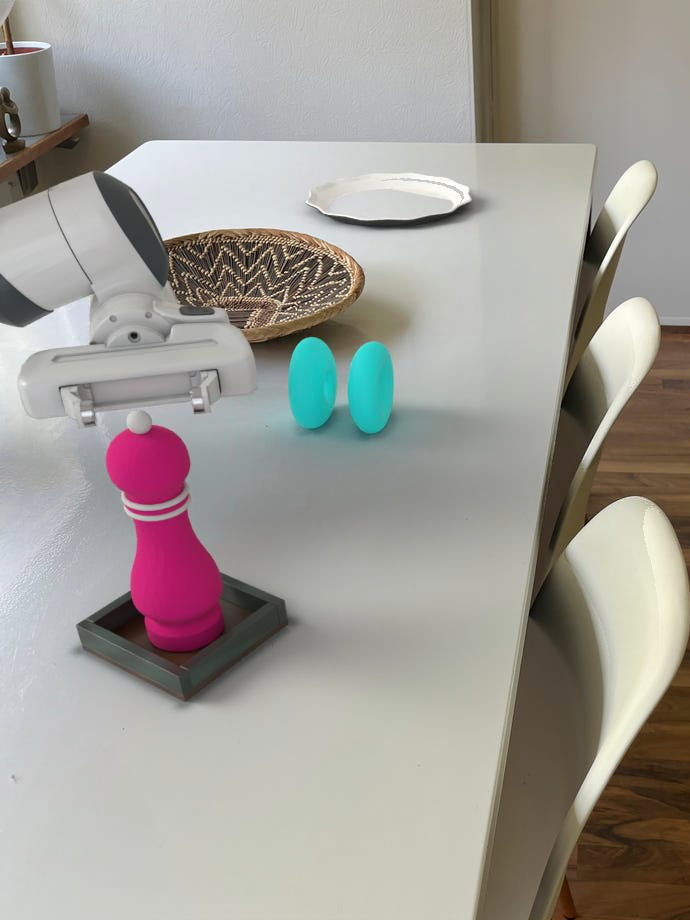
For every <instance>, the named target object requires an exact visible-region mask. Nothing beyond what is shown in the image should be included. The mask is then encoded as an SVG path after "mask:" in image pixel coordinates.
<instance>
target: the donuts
mask: <svg viewBox="0 0 690 920" xmlns="http://www.w3.org/2000/svg"><path fill="white" fill-rule="evenodd" d="M393 364H394V363H393V360H392V356H391V353H390V352H389V350H388V348H387V347H386V346H385V345H384V344H383V343H381V342H379V341H375V340H372V341H368V342H365V343H364V344H362V345H361V346H360V347H359V348H358V349H357V351H356V352H355V354H354V356H353V358H352V360H351V364H350V367H349V370H348V371H349V372H348V378H347V403H348V409H349V412H350V416H351V418H352V421H353V422H354V424H355V425H356V427H357V428H358V429H359V430H360V431H362V432H363V433H366V434H369V435H370V434H371V435H372V434H377V433H379V432H381V431H382V430H383V429H384V428H385V427H386V425H387V423H388V421H389V418H390V415H391V413H392V407H393V401H394V392H395V391H394V389H395V377H394V365H393ZM337 391H338V370H337V364H336V360H335V357H334V355H333V352H332V350H331V348H330V347H329V346H328V344H327V343H326V342H325V341H324V340H322V339H320V338H318V337H315V336H314V337H313V336H309V337H305V338H303V339H302V340H300V342H299V343H298V344H297V345H296V346H295V348H294V350H293V352H292V355H291V358H290V363H289V368H288V377H287V394H288V403H289V407H290V410H291V413H292V416H293V418H294V419H295V421H296V422H297V423H298V424H299V425H300V426H302V428H305V429H309V430H315V429H318V428H320V427H322V426H323V425H324V424H325V423H326V422H327V421H328V420H329V418H330V417H331V415H332V412H333V410H334V407H335V404H336V399H337Z"/></svg>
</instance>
